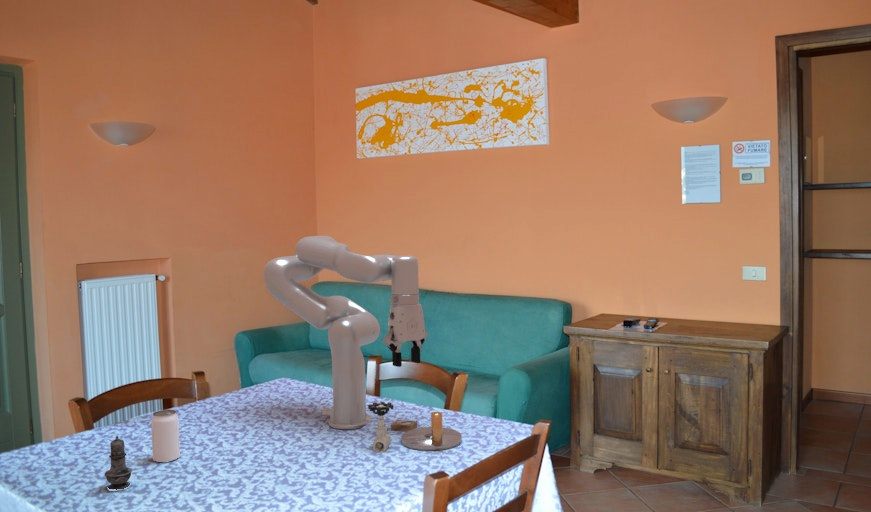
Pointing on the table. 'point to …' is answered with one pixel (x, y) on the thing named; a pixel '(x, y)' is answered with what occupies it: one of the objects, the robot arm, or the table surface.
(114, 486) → the salt shaker
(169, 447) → the can
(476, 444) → the table surface
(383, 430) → the valve
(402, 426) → the dial pad
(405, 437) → the handwheel
